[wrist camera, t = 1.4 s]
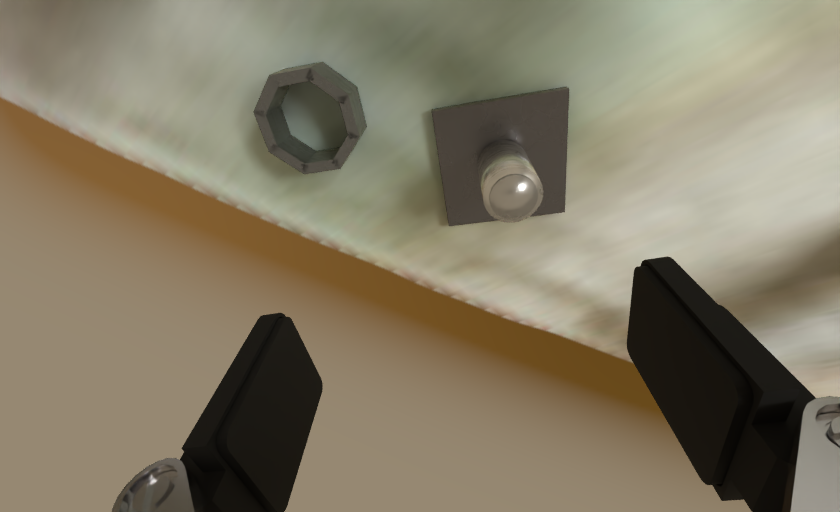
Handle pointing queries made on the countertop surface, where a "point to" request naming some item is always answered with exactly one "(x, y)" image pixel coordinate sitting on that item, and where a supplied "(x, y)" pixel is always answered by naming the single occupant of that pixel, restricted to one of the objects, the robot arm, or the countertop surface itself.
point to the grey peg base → (504, 156)
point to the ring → (277, 128)
